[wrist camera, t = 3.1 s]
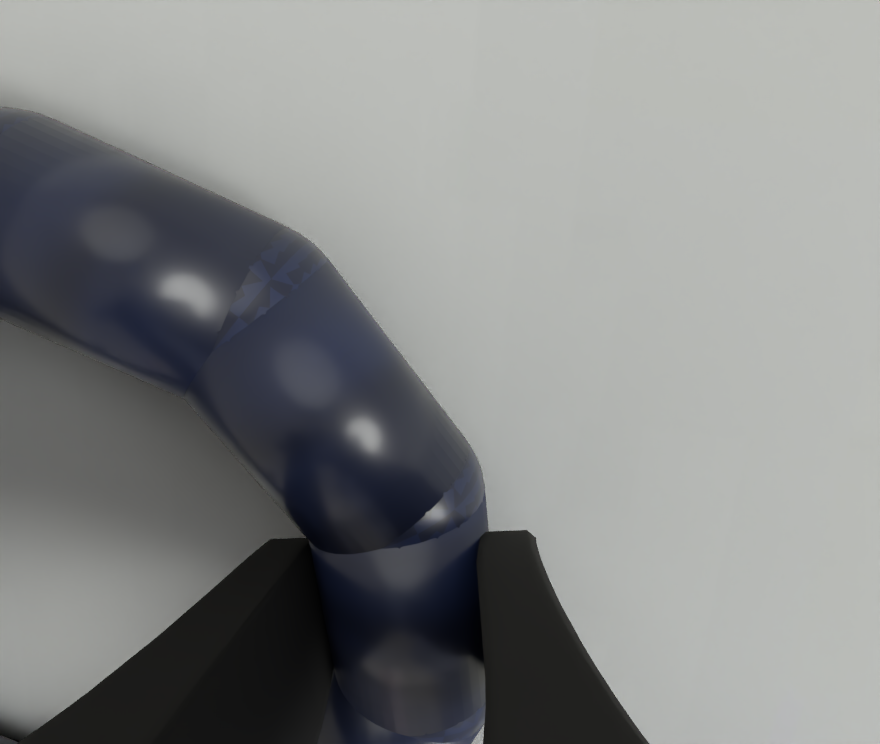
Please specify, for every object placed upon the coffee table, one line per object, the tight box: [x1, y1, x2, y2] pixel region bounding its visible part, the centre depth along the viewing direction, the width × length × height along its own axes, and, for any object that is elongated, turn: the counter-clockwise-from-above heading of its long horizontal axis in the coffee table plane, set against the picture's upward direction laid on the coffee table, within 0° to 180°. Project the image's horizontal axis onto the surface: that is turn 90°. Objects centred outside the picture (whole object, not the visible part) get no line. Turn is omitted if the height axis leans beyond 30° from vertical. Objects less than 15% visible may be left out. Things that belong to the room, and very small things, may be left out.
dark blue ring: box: [0, 107, 489, 744], centre depth 11 cm, size 13×13×2 cm
